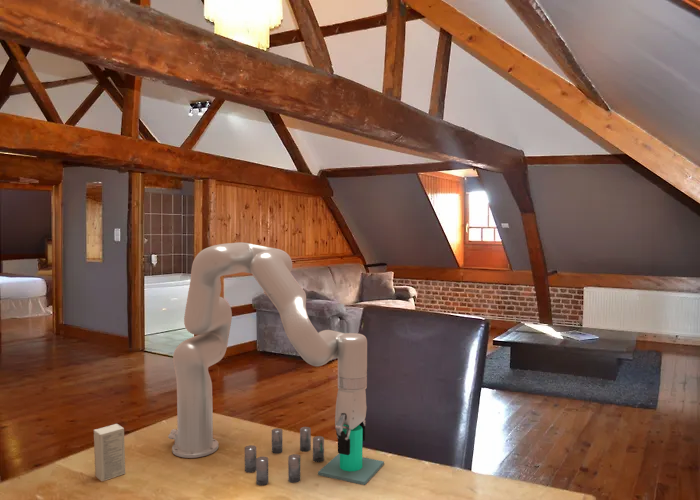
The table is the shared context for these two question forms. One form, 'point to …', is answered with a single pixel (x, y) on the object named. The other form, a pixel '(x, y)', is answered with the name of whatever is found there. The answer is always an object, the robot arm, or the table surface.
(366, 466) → the mat
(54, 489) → the table surface
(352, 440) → the candle
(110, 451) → the skincare box
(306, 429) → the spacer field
